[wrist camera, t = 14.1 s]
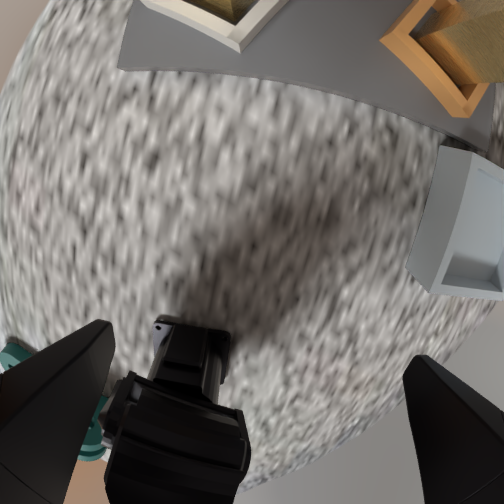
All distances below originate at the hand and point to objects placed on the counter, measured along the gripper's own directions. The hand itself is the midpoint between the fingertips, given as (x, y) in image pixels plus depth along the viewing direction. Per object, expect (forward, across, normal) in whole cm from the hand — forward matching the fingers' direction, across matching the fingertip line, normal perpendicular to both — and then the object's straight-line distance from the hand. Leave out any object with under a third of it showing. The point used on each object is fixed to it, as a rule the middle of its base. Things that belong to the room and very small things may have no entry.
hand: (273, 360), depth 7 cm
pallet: (+13, -4, -15) cm, 20 cm away
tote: (+13, -17, -3) cm, 22 cm away
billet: (+12, -10, -15) cm, 21 cm away
